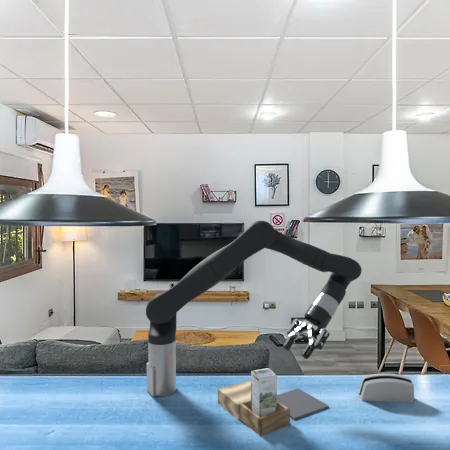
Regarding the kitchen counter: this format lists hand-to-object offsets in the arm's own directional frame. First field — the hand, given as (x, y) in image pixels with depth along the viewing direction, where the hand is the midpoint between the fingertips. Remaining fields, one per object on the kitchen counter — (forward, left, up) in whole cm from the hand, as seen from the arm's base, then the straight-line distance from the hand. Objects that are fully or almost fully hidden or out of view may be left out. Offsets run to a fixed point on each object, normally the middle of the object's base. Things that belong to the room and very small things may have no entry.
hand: (294, 353), depth 116 cm
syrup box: (-12, 0, -18) cm, 21 cm away
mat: (+3, +3, -18) cm, 18 cm away
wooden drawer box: (-12, +6, -18) cm, 22 cm away
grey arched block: (+30, -10, -18) cm, 36 cm away
